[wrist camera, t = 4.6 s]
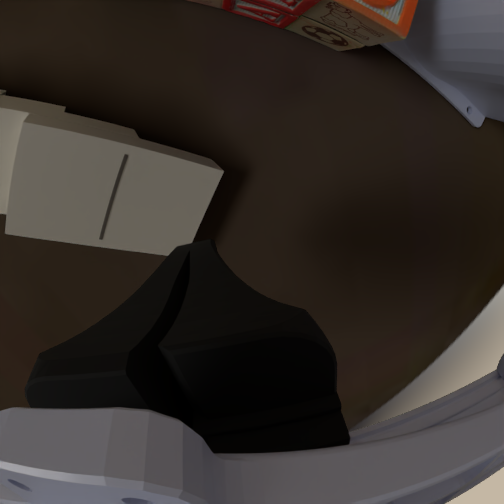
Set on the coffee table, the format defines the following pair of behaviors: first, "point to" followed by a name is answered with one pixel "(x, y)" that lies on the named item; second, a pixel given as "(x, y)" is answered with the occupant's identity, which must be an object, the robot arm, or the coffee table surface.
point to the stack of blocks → (330, 19)
